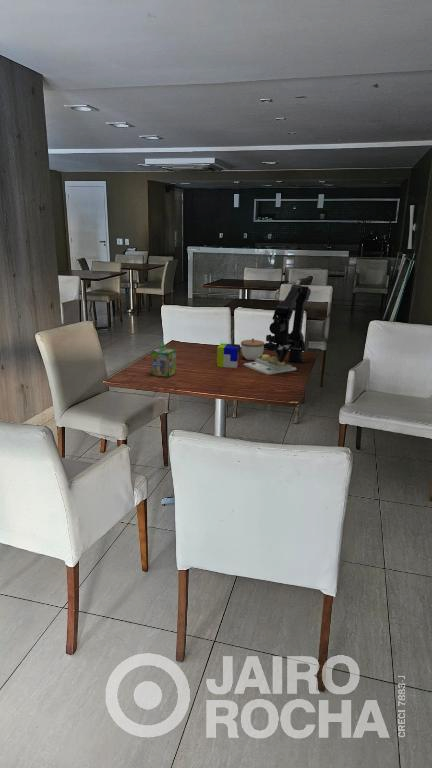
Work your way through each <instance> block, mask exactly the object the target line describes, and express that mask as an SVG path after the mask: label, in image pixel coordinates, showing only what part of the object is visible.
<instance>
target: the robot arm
mask: <svg viewBox="0 0 432 768" xmlns="http://www.w3.org/2000/svg"><path fill="white" fill-rule="evenodd" d="M309 287H310V286H306V285H301V284H292V285H291V287H290V290H289V292H288V294H287V295H286V296H285V299H284V300H283V301H281V302H279V303H278V305H277V306H276V307H275V310H274V312H273V316H272V320H273V322H272V323H270V324H269V328H268V329H269V331H270V334H266V336H265V340H266V343H265V342H264V350H266V351H269V352H272V351H273V352H274V351H275V352H276V354H277V359H278V361H279V362H284V360H285V357H286V356H287V355H288V359H287V361H288V362H291V363H294V364H296V363H301V362H302V363H304V361H305V360H304V359H303V352H306V349H307V348H306V347H307V346H306V343H305V340H304V339H305V337H304V335H303V332H302V331H303V330H302V329H303V322H304V316H305V315H304V314H305V308H306V307H305V306H306V303H307V302H308V301H309V299H310V296H311V294H312V293H311V292H312V290H311V288H309ZM294 304H295V308H294V311H293V306H294ZM293 314H294V315H293ZM292 315H293V321H292V322H293V324H292V330H291V332H290V333H289V330H290V329H289V328H290V321H291V318H292ZM271 334H272V335H271Z"/></svg>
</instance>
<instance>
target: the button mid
mask: <svg viewBox="0 0 432 768" xmlns="http://www.w3.org/2000/svg"><path fill="white" fill-rule="evenodd" d="M277 361H278V356H277V357H276V356H269V363H272V364H275V363H277Z"/></svg>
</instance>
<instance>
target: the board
mask: <svg viewBox="0 0 432 768" xmlns="http://www.w3.org/2000/svg"><path fill="white" fill-rule="evenodd" d="M278 361H279V360H277V362H278ZM243 366H244V367H247V368H249V369H252V370H255V371H257V372H260V373H262V374H265V375H268V376H269V375H274V374H275V375H276V374H279V373H280V374H281V373H285V372H291V371H292V372H293V371H297V367H295V366H292V365H291V364H288V363H285V366H282V367H280V366H277V363H275V364H272V363H269V361H262V357H260V358H259V359H255V360H254V361H253V362H246V363H243Z"/></svg>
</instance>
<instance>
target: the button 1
mask: <svg viewBox="0 0 432 768" xmlns="http://www.w3.org/2000/svg"><path fill="white" fill-rule="evenodd" d="M269 357H270V354H268V353H267V354H262V356H261V358H262V361H269Z"/></svg>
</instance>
